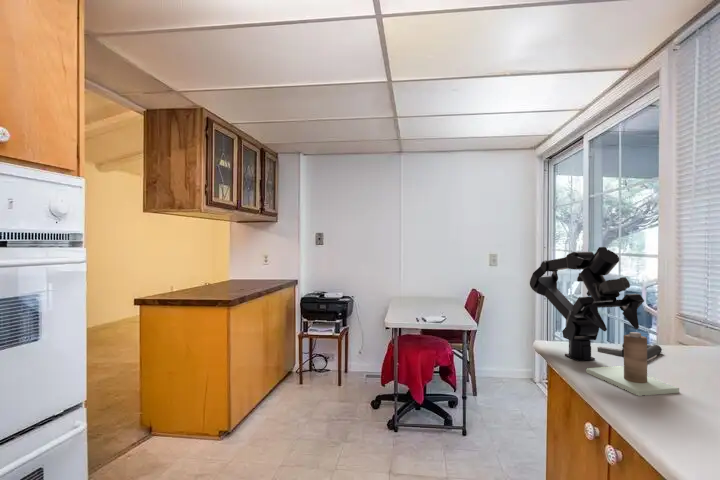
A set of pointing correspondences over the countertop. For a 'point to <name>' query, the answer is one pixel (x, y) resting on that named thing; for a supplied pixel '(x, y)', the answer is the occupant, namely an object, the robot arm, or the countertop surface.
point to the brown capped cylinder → (635, 358)
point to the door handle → (651, 351)
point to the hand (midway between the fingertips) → (621, 329)
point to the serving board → (617, 378)
